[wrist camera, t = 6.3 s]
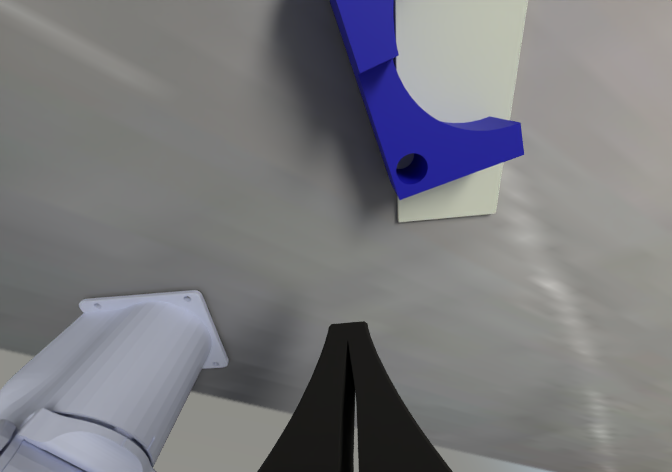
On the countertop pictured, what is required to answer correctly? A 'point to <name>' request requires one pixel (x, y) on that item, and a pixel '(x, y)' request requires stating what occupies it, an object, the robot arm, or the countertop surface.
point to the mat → (458, 85)
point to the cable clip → (414, 110)
